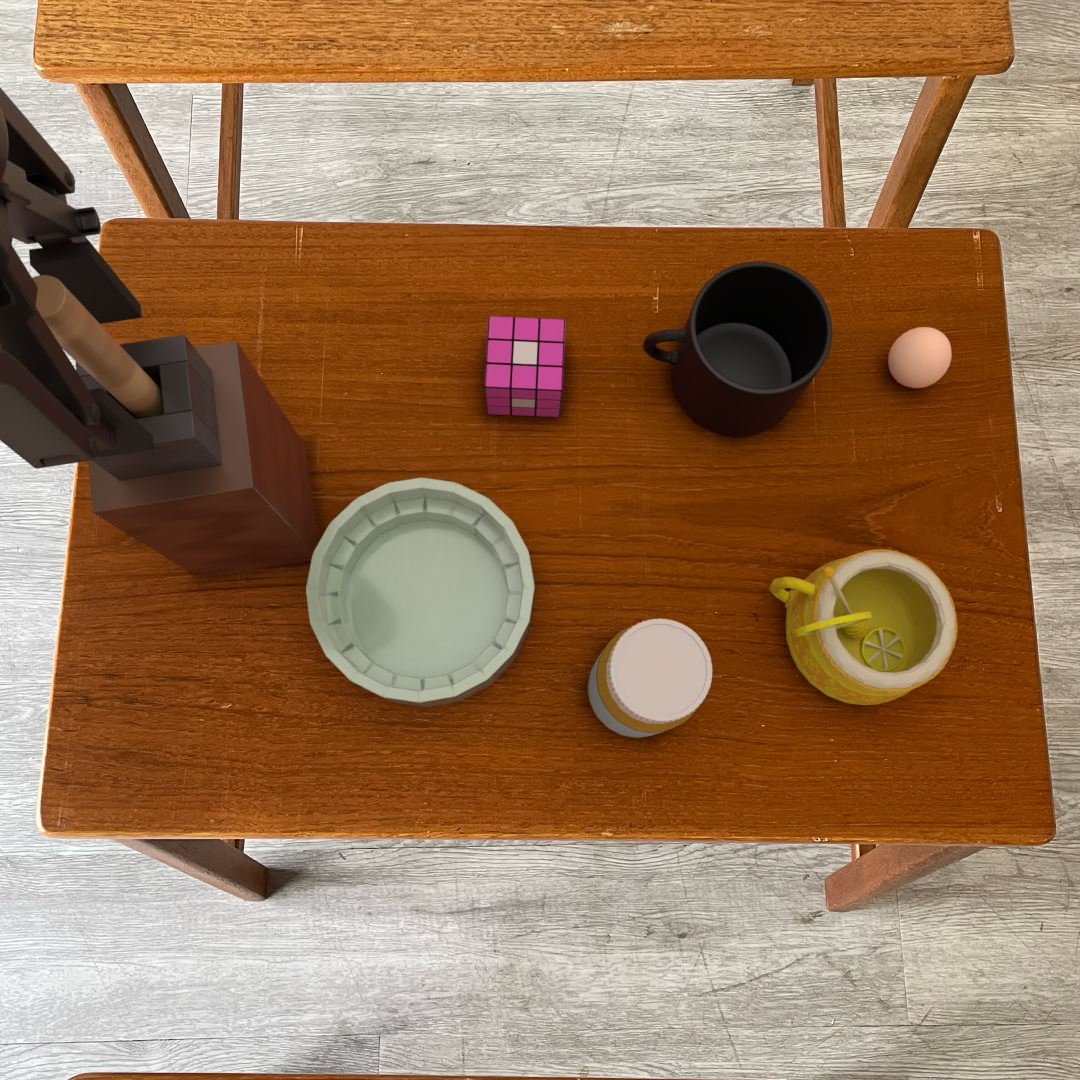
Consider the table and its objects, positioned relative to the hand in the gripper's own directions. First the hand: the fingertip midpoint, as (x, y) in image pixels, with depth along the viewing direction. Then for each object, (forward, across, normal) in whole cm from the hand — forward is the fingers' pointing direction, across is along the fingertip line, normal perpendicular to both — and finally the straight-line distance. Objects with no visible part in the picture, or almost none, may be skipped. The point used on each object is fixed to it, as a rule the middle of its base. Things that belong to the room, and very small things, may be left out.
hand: (120, 379), depth 52 cm
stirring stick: (+7, 0, 0) cm, 7 cm away
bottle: (+27, -18, -26) cm, 42 cm away
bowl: (+27, -9, -12) cm, 31 cm away
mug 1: (+27, +5, -37) cm, 46 cm away
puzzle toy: (+27, +7, -22) cm, 36 cm away
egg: (+27, +3, -52) cm, 59 cm away
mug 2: (+27, -16, -42) cm, 53 cm away
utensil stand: (+27, 0, 0) cm, 27 cm away
